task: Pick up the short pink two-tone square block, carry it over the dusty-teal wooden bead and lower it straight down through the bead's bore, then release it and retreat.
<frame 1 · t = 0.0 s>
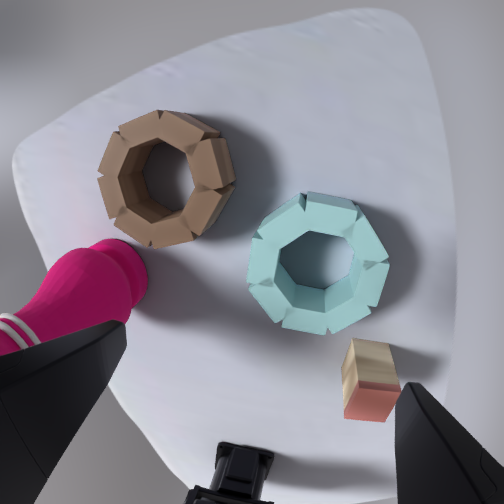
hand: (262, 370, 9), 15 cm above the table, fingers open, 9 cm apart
pink two-tone square block: (364, 356, 25), on the table
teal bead: (317, 254, 23), on the table
pepper mill: (118, 271, 27), on the table
brown segmented ring: (175, 174, 23), on the table
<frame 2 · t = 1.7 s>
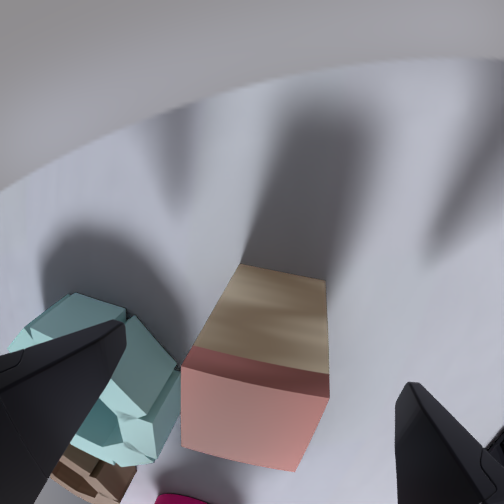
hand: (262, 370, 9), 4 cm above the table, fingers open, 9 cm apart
pink two-tone square block: (274, 309, 12), on the table
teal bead: (107, 367, 16), on the table
brown segmented ring: (87, 447, 20), on the table
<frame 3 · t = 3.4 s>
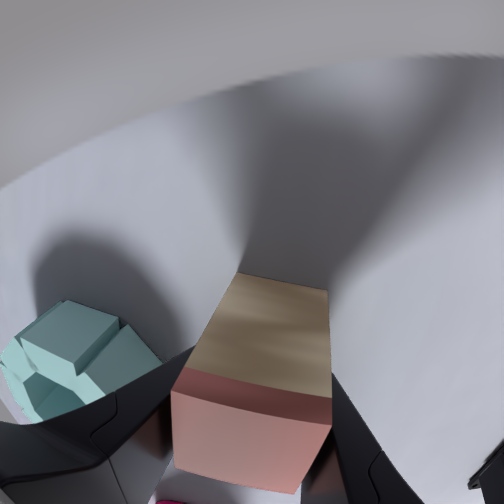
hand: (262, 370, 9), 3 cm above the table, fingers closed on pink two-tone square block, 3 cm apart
pink two-tone square block: (274, 320, 12), on the table, touching gripper
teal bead: (102, 376, 15), on the table
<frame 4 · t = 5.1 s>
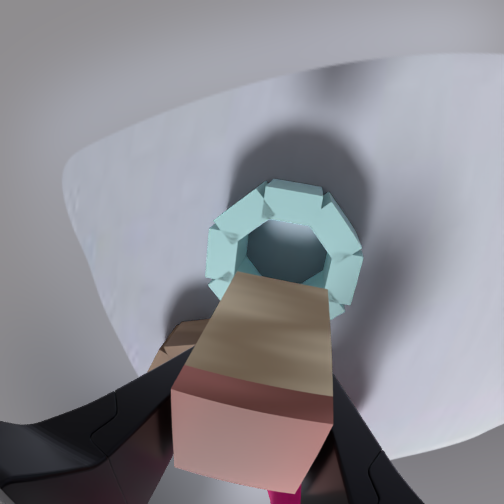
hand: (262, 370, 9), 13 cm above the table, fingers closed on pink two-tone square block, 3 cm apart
pink two-tone square block: (274, 319, 12), point 10 cm above the table, touching gripper
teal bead: (287, 247, 21), on the table
pepper mill: (309, 421, 26), on the table
brown segmented ring: (215, 363, 26), on the table
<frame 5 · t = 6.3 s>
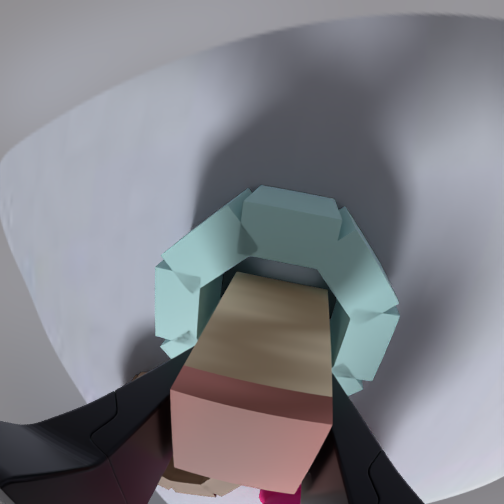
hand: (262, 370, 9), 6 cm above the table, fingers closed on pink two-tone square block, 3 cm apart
pink two-tone square block: (274, 319, 12), point 3 cm above the table, touching gripper
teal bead: (279, 287, 14), on the table
pepper mill: (303, 480, 20), on the table
brown segmented ring: (186, 421, 19), on the table
when the fingers open (5 cm above the table, at t = 7.1 s): pink two-tone square block drops 2 cm, resting in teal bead.
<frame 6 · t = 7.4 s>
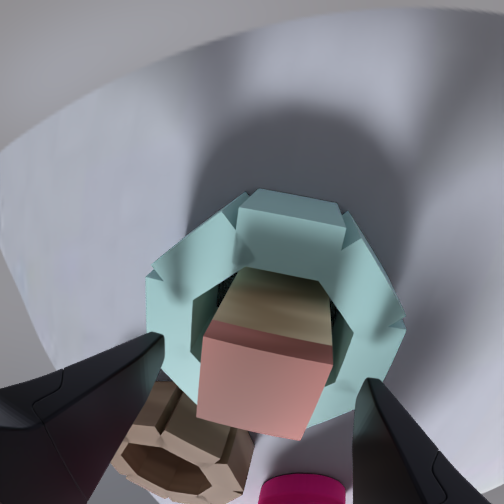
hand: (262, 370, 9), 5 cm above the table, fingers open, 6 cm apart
pink two-tone square block: (280, 295, 14), resting in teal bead
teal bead: (278, 296, 14), on the table
pepper mill: (303, 489, 19), on the table
brown segmented ring: (183, 430, 18), on the table
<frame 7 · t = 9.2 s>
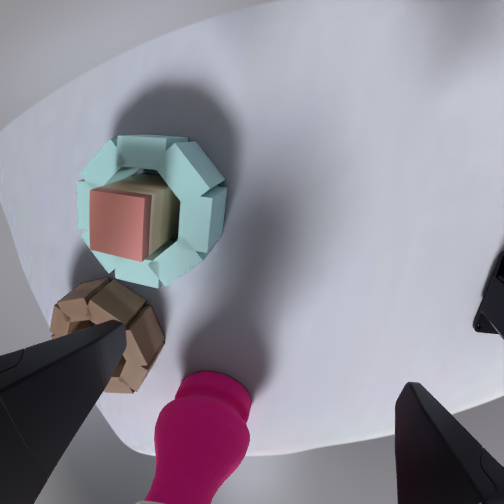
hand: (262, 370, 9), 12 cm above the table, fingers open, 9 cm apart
pink two-tone square block: (162, 200, 21), resting in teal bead
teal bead: (161, 201, 21), on the table
pepper mill: (215, 395, 26), on the table
brown segmented ring: (115, 326, 25), on the table
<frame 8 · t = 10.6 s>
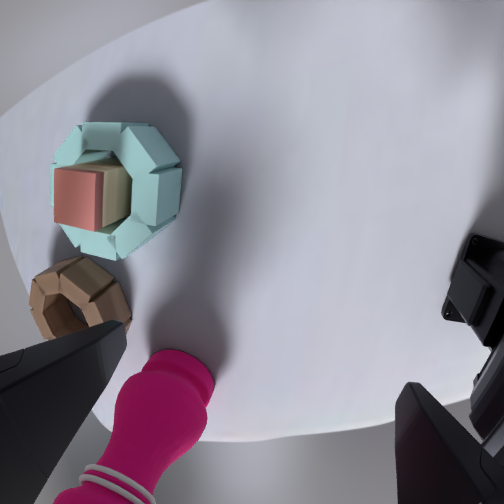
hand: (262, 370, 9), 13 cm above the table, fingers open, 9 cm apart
pink two-tone square block: (126, 182, 21), resting in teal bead
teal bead: (125, 182, 21), on the table
pepper mill: (181, 375, 27), on the table
brown segmented ring: (88, 303, 26), on the table
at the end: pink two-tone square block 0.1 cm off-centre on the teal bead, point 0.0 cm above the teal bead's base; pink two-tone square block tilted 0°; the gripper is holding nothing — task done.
